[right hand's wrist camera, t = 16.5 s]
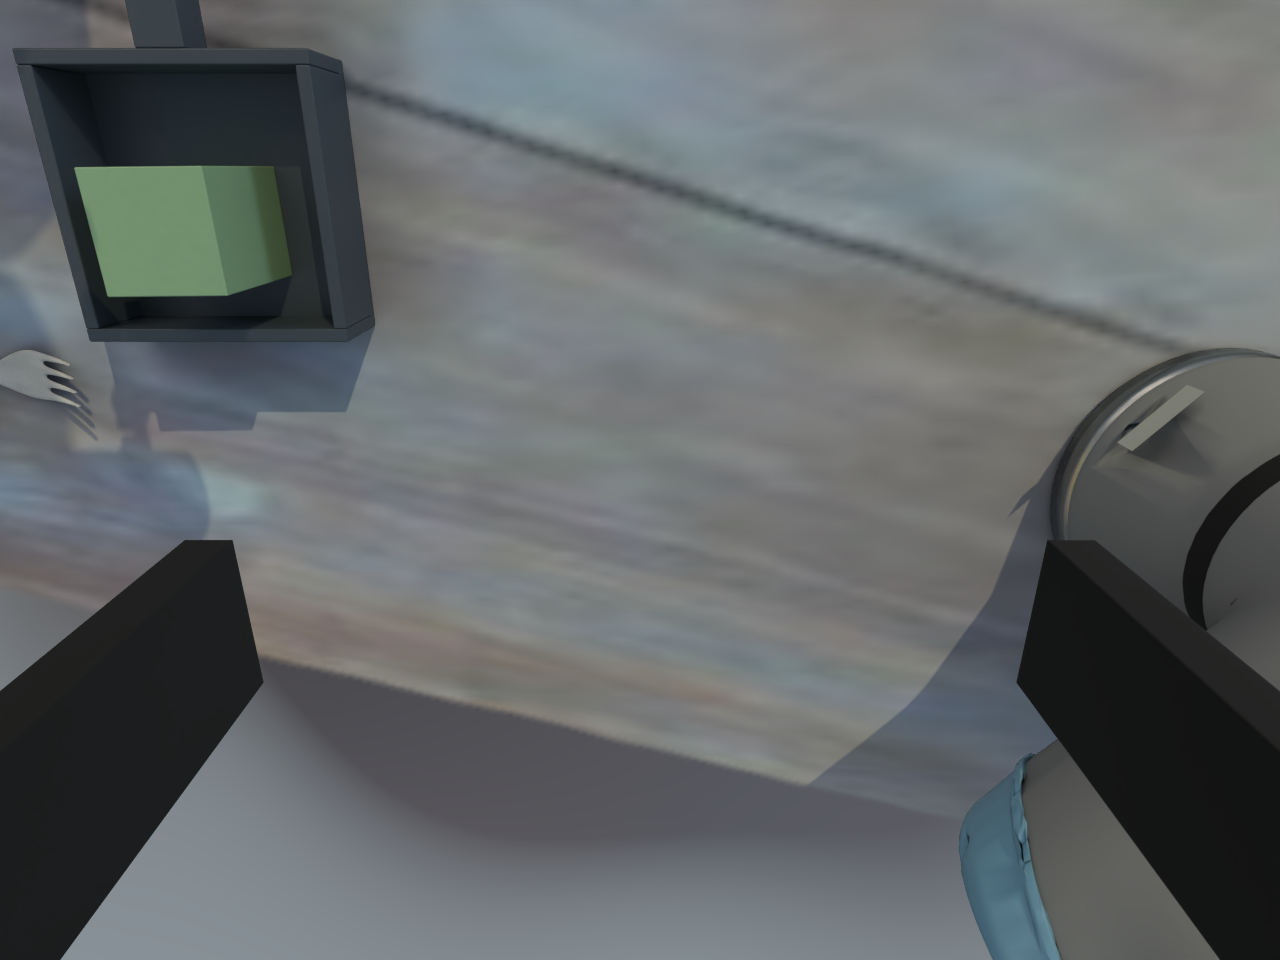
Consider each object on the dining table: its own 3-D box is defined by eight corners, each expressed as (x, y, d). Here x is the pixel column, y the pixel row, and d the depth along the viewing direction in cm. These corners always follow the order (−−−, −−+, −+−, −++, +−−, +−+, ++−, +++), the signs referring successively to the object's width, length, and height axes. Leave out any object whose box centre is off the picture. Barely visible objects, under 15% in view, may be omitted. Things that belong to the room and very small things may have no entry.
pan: (375, 325, 40) (348, 341, 36) (140, 325, 40) (89, 341, 36) (294, -315, 30) (246, -383, 27) (-13, -315, 30) (-104, -383, 27)
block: (274, 166, 36) (201, 165, 30) (292, 276, 38) (227, 296, 32) (167, 167, 36) (73, 167, 30) (191, 276, 38) (107, 297, 32)
